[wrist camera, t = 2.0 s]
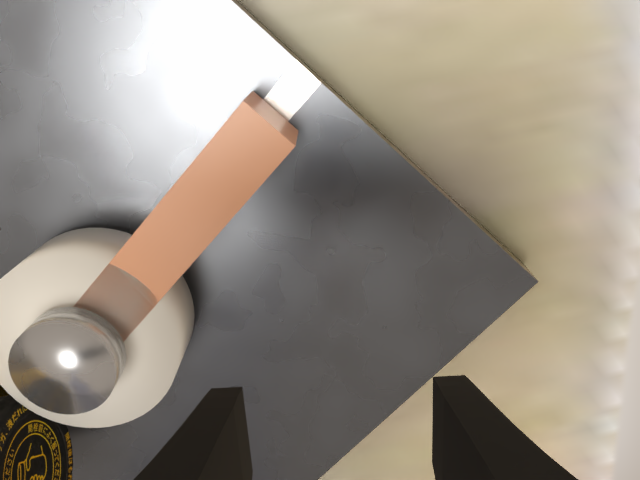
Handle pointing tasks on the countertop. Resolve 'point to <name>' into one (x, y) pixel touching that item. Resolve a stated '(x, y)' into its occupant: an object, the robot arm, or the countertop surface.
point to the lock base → (231, 233)
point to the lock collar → (145, 266)
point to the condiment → (32, 445)
